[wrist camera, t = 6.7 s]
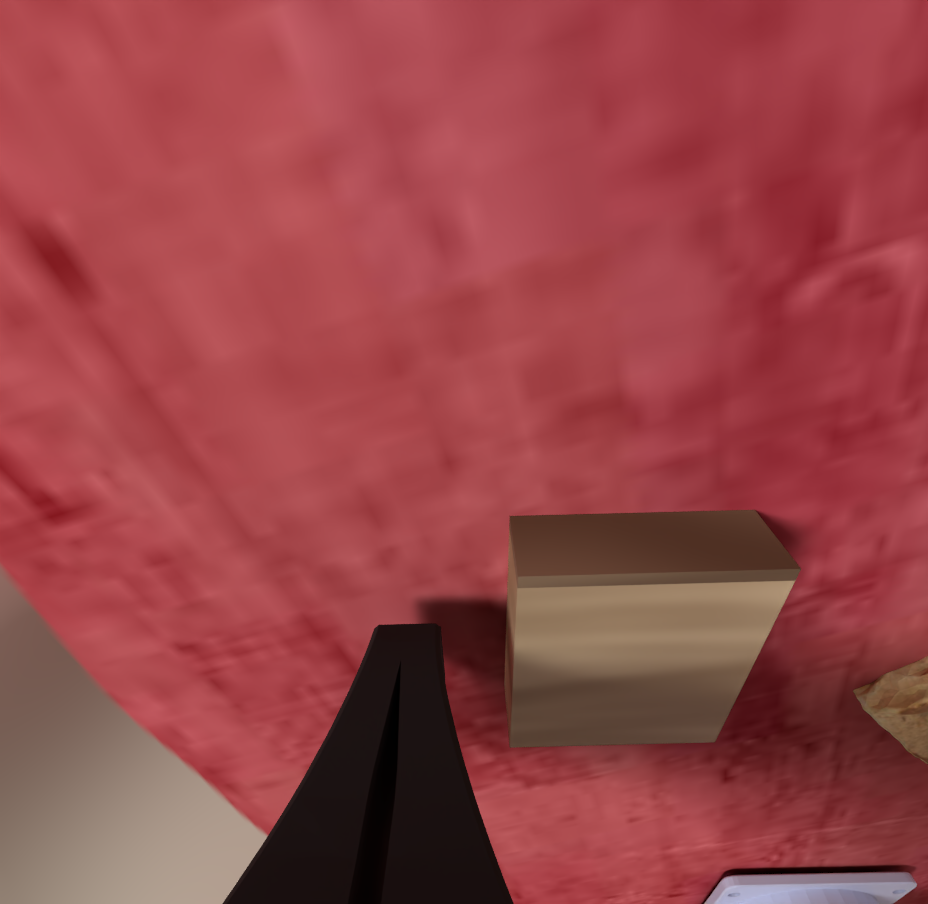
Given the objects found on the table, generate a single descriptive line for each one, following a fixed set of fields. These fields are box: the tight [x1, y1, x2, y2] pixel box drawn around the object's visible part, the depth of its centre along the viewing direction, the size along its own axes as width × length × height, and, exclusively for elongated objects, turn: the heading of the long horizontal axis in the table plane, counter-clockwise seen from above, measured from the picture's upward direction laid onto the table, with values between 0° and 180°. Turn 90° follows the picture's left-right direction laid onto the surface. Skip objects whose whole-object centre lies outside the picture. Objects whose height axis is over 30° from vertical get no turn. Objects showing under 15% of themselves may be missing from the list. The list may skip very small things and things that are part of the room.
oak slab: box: [504, 510, 801, 747], centre depth 11 cm, size 2×5×6 cm
